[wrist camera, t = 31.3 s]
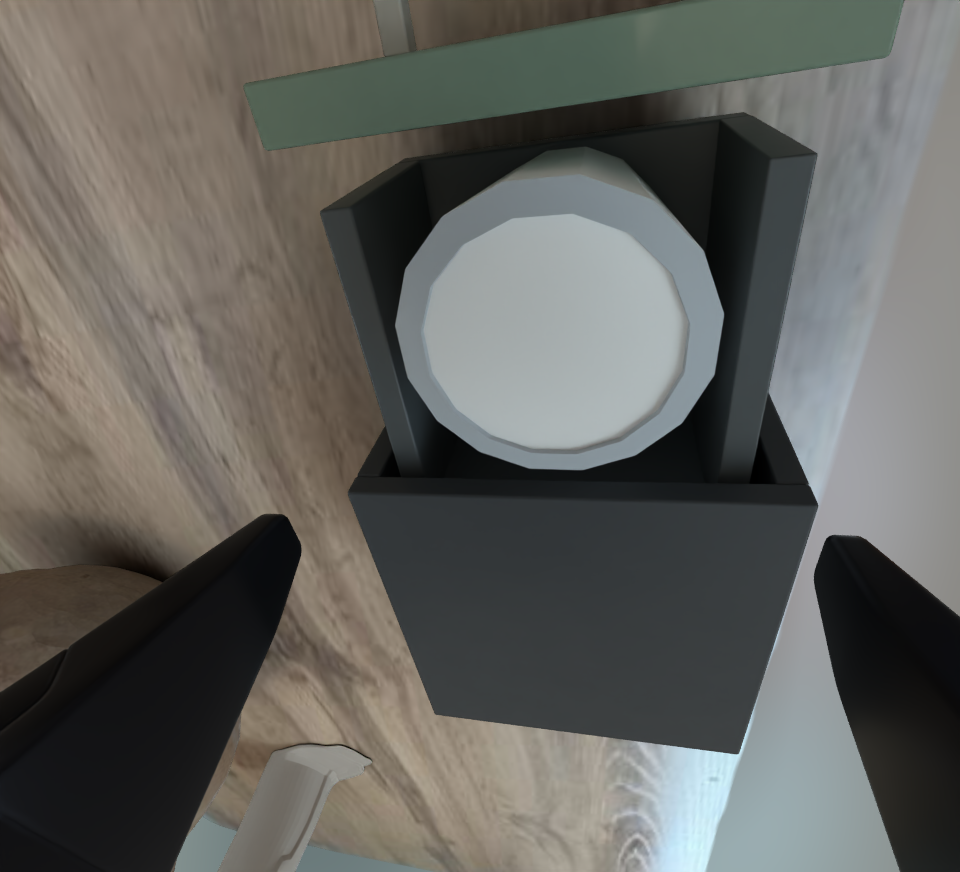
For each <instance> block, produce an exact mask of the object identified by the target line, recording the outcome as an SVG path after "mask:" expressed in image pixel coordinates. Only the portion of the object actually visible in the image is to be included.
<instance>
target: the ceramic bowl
mask: <svg viewBox="0 0 960 872" xmlns="http://www.w3.org/2000/svg"><path fill="white" fill-rule="evenodd" d="M161 583H162V582H161V581H158V580H155V579H153V578H151V577H148V576H145V575H142V574H139V573H136V572H132V571H128V570H124V569H120V568H117V567H108V566H99V565H72V566H64V567H58V568H53V569H31V570H20V571H15V572H11V573H5V574H0V692H1V691H3V690H4V689H6V688H7V687H9V686H10V685H12V684H13V683H15V682H16V681H18V680H19V679H21V678H22V677H24V676H25V675H27V674H28V673H30V672H31V671H33V670H34V669H36V668H37V667H39V666H41V665H42V664H43V663H45V662H46V661H48V660H49V659H51V658H52V657H54V656H55V655H57V654H58V653H59V652H61V651H62V650H64V649H68V648H69V646H70V645H71V644H73V643H74V642H76V641H77V640H79V639H80V638H82V637H83V636H85V635H86V634H88V633H89V632H90V631H92V630H93V629H95V628H96V627H98V626H99V625H101V624H102V623H104V622H105V621H107V620H108V619H110V618H111V617H113V616H114V615H115V614H117V613H118V612H120V611H121V610H123V609H124V608H126V607H127V606H129V605H130V604H132V603H133V602H135V601H136V600H137V599H139V598H140V597H142V596H143V595H145V594H146V593H148V592H149V591H151V590H152V589H154V588H155V587H157V586H158V585H160V584H161ZM240 724H241V713H240V716H239V718H238V720H237V722H236V725H235V727H234V729H233V732H232V734H231V736H230V738H229V741H228V743H227V745H226V748H225V750H224V752H223V754H222V757H221V759H220V761H219V764H218V766H217V768H216V770H215V773H214V775H213V777H212V780H211V782H210V784H209V786H208V789H207V791H206V793H205V796H204V798H203V800H202V802H201V805H200V807H199V809H198V812H197V814H196V816H195V818H194V821H193V823H192V825H191V828H190V830H189V832H188V834H189V833H190V832H191V830H192V829H193V828H194V827H195V825H196V824H197V823H198V821H199V820H200V819H201V817H202V816H203V815H204V813H205V812H206V810H207V809H208V808H209V806H210V804H211V803H212V801H213V799H214V798H215V796H216V795H217V793H218V791H219V789H220V788H221V786H222V784H223V783H224V781H225V779H226V777H227V775H228V772H229V770H230V767H231V764H232V761H233V758H234V755H235V752H236V748H237V745H238V741H239V738H240ZM188 834H187V835H188ZM176 860H177V859H176ZM175 864H176V862H175ZM175 864H174V866H173V869H172V871H171V872H174V869H175Z"/></svg>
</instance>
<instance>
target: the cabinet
mask: <svg viewBox="0 0 960 872" xmlns="http://www.w3.org/2000/svg"><path fill="white" fill-rule="evenodd" d="M808 484H809V483H808V480H807V478H806V476H805V474H804V471H803V469H802V467H801V465H800V462H799V460H798V458H797V456H796V453H795V451H794V449H793V447H792V444H791V442H790V440H789V438H788V436H787V433H786V431H785V429H784V427H783V424H782V422H781V420H780V418H779V415H778V413H777V411H776V409H775V406H774V404H773V402H772V400H771V397H770V395H769V393H768V396H767V401H766V405H765V410H764V415H763V420H762V425H761V429H760V434H759V439H758V444H757V449H756V454H755V458H754V463H753V468H752V473H751V478H750V482H749V484H733V483H678V482H624V481H570V480H516V479H461V478H407V477H401V475H400V472H399V468H398V465H397V462H396V459H395V455H394V452H393V449H392V446H391V442H390V439H389V436H388V433H387V429H386V426H385V427H384V429H383V431H382V432H381V434H380V436H379V438H378V439H377V441H376V443H375V445H374V446H373V448H372V450H371V452H370V453H369V455H368V457H367V459H366V461H365V462H364V464H363V466H362V468H361V469H360V471H359V473H358V477H356V478H355V480H354V482H353V484H352V485H351V487H350V489H349V491H348V496H349V499H350V501H351V504H352V506H353V509H354V511H355V514H356V516H357V519H358V521H359V524H360V526H361V529H362V531H363V534H364V536H365V539H366V542H367V544H368V547H369V549H370V552H371V554H372V557H373V559H374V562H375V564H376V567H377V569H378V572H379V574H380V577H381V579H382V582H383V584H384V587H385V589H386V592H387V594H388V597H389V599H390V602H391V605H392V607H393V610H394V612H395V615H396V617H397V620H398V622H399V625H400V627H401V630H402V632H403V635H404V637H405V640H406V642H407V645H408V647H409V650H410V652H411V655H412V657H413V660H414V662H415V665H416V668H417V670H418V673H419V675H420V678H421V680H422V683H423V685H424V688H425V690H426V693H427V695H428V698H429V700H430V703H431V705H432V708H433V710H434V713H435V714H436V715H442V716H450V717H458V718H465V719H473V720H480V721H488V722H495V723H503V724H511V725H518V726H526V727H533V728H541V729H548V730H556V731H564V732H571V733H579V734H586V735H594V736H601V737H609V738H617V739H624V740H632V741H639V742H647V743H654V744H662V745H670V746H677V747H685V748H692V749H700V750H707V751H715V752H723V753H730V754H739V752H740V749H741V745H742V742H743V739H744V736H745V733H746V730H747V727H748V724H749V721H750V717H751V714H752V711H753V708H754V705H755V702H756V699H757V696H758V693H759V689H760V686H761V683H762V680H763V677H764V674H765V671H766V668H767V664H768V661H769V658H770V655H771V652H772V649H773V646H774V643H775V640H776V636H777V633H778V630H779V627H780V624H781V621H782V618H783V615H784V612H785V608H786V605H787V602H788V599H789V596H790V593H791V590H792V587H793V584H794V580H795V577H796V574H797V571H798V568H799V565H800V562H801V559H802V556H803V552H804V549H805V546H806V543H807V540H808V537H809V534H810V531H811V527H812V524H813V521H814V518H815V515H816V512H817V509H818V503H817V501H816V499H815V496H814V494H813V492H812V490H811V487H810V486H809V485H808Z"/></svg>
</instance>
